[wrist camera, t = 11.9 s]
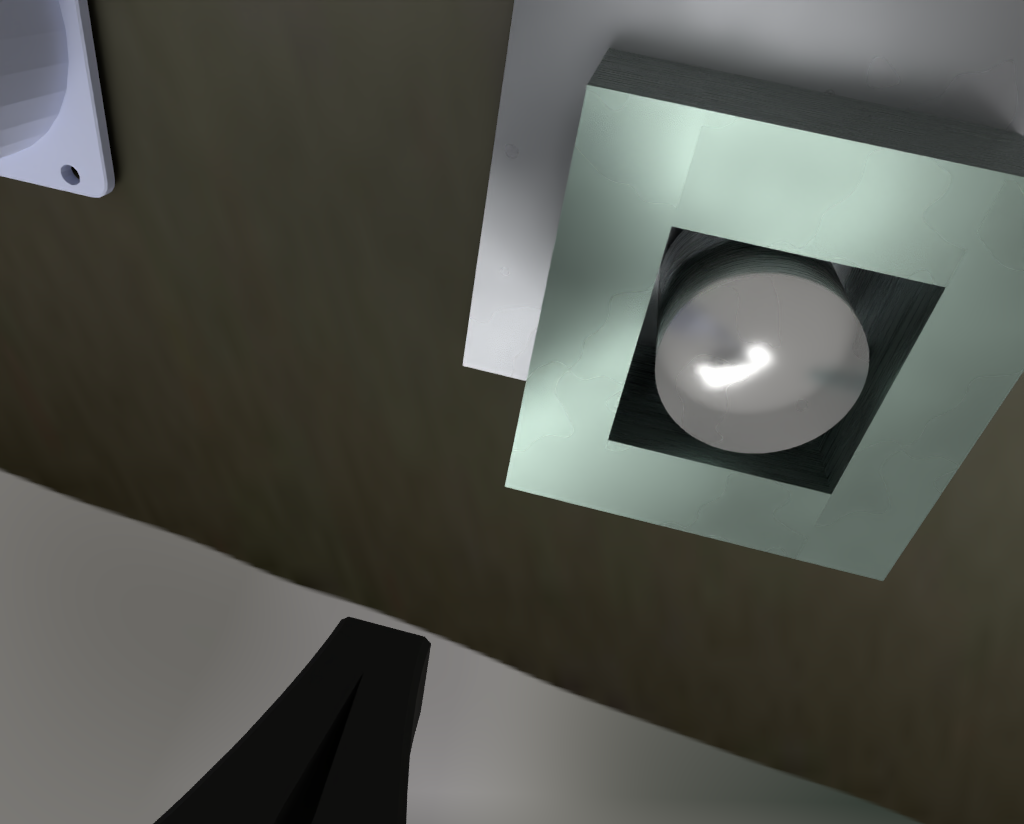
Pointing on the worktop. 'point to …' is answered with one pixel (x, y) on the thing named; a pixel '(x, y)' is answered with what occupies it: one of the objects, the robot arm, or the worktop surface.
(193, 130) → the worktop surface
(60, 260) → the worktop surface
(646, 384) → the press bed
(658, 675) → the worktop surface
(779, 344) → the press pin
